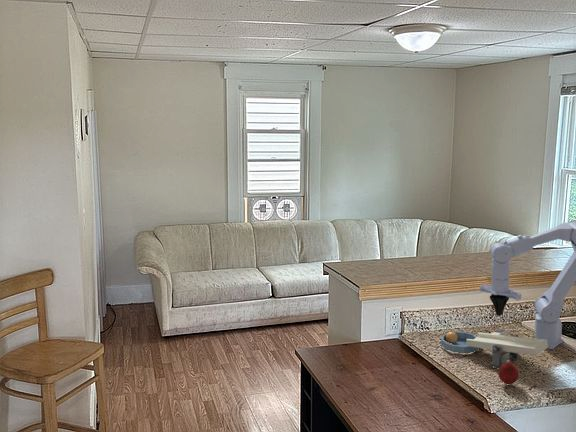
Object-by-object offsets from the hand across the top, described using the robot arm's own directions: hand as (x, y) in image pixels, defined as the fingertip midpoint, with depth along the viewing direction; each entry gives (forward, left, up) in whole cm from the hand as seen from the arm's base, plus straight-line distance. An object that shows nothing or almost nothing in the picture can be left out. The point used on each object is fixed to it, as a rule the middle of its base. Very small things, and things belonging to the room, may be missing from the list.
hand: (499, 314), depth 199 cm
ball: (+12, -11, -8) cm, 18 cm away
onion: (+25, +17, -11) cm, 32 cm away
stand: (+12, +9, -10) cm, 18 cm away
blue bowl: (+12, -8, -10) cm, 18 cm away
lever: (+7, +9, -5) cm, 13 cm away
